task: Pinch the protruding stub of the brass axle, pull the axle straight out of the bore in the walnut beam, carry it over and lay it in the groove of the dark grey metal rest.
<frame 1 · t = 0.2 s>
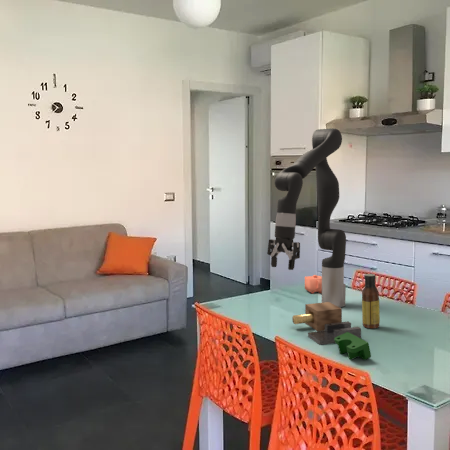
hand: (282, 268, 196), 22 cm above the table, tool pointing down, fingers open, 8 cm apart
rest: (334, 338, 183), on the table
piggy bank: (314, 292, 250), on the table
sauce bottle: (370, 327, 195), on the table
axle: (313, 321, 196), point 2 cm above the table, touching beam
beam: (323, 325, 197), on the table
clamp: (351, 356, 166), on the table
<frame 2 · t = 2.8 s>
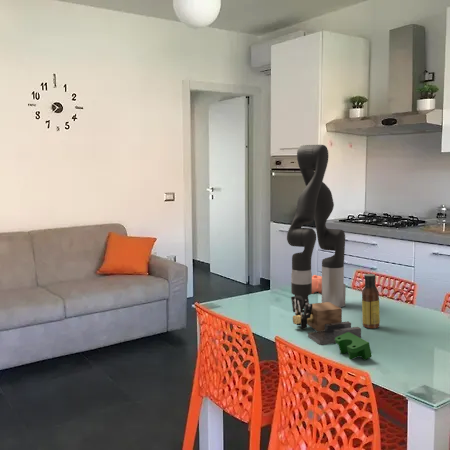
hand: (301, 326, 194), 1 cm above the table, tool pointing down, fingers open, 3 cm apart
axle: (313, 321, 196), point 2 cm above the table, tilted 10°, touching beam, gripper
everything else where it was.
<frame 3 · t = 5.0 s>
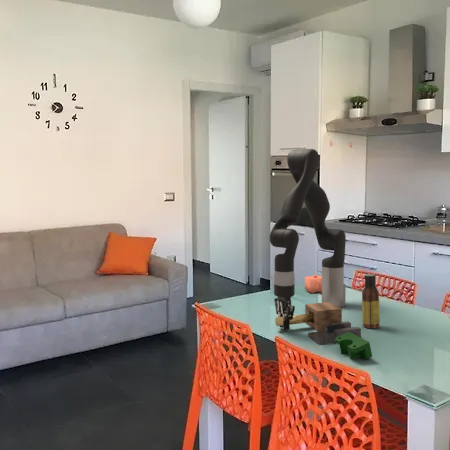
hand: (284, 328, 192), 1 cm above the table, tool pointing down, fingers closed on axle, 3 cm apart
axle: (296, 323, 193), point 2 cm above the table, touching gripper
everything else where it was.
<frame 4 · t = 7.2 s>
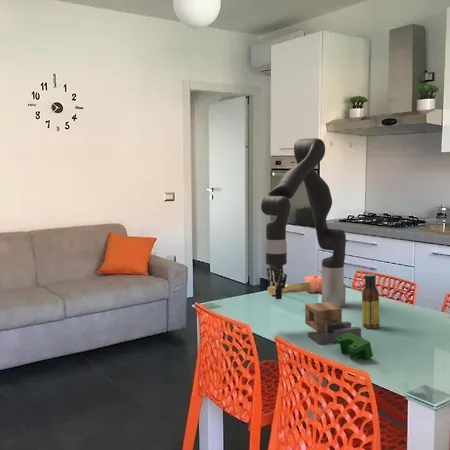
hand: (276, 297, 190), 13 cm above the table, tool pointing down, fingers closed on axle, 3 cm apart
axle: (289, 292, 191), point 14 cm above the table, tilted 5°, touching gripper
everything else where it was.
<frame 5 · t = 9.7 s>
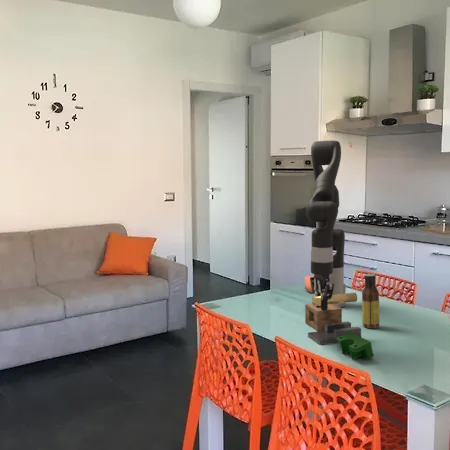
hand: (321, 308, 180), 11 cm above the table, tool pointing down, fingers closed on axle, 3 cm apart
axle: (334, 303, 181), point 12 cm above the table, touching gripper
everything else where it was.
when the fingers open (2 cm above the table, at t = 11.6 s): axle drops 1 cm, resting on rest.
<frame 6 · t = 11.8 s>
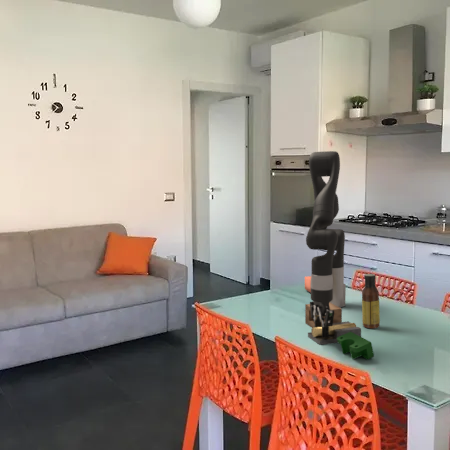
hand: (321, 334, 181), 2 cm above the table, tool pointing down, fingers open, 5 cm apart
axle: (334, 334, 183), point 1 cm above the table, touching rest
everything else where it was.
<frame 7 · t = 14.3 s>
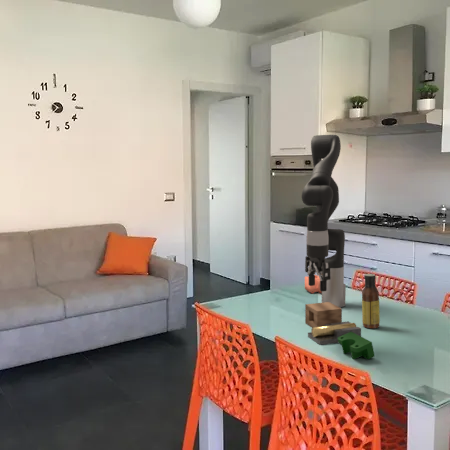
hand: (317, 288, 183), 17 cm above the table, tool pointing down, fingers open, 8 cm apart
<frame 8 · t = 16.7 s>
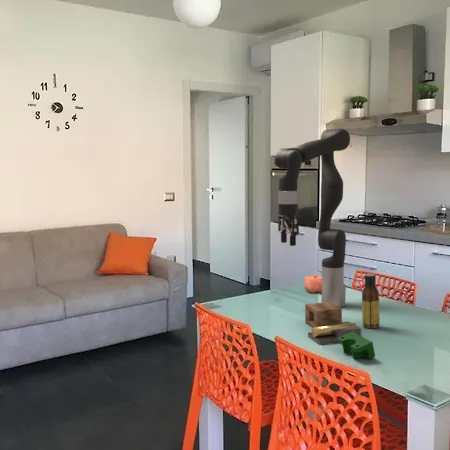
hand: (288, 244, 202), 30 cm above the table, tool pointing down, fingers open, 8 cm apart
at the end: axle 0.1 cm off-centre on the rest, point 1.5 cm above the rest's base; axle touching rest; the gripper is holding nothing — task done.
